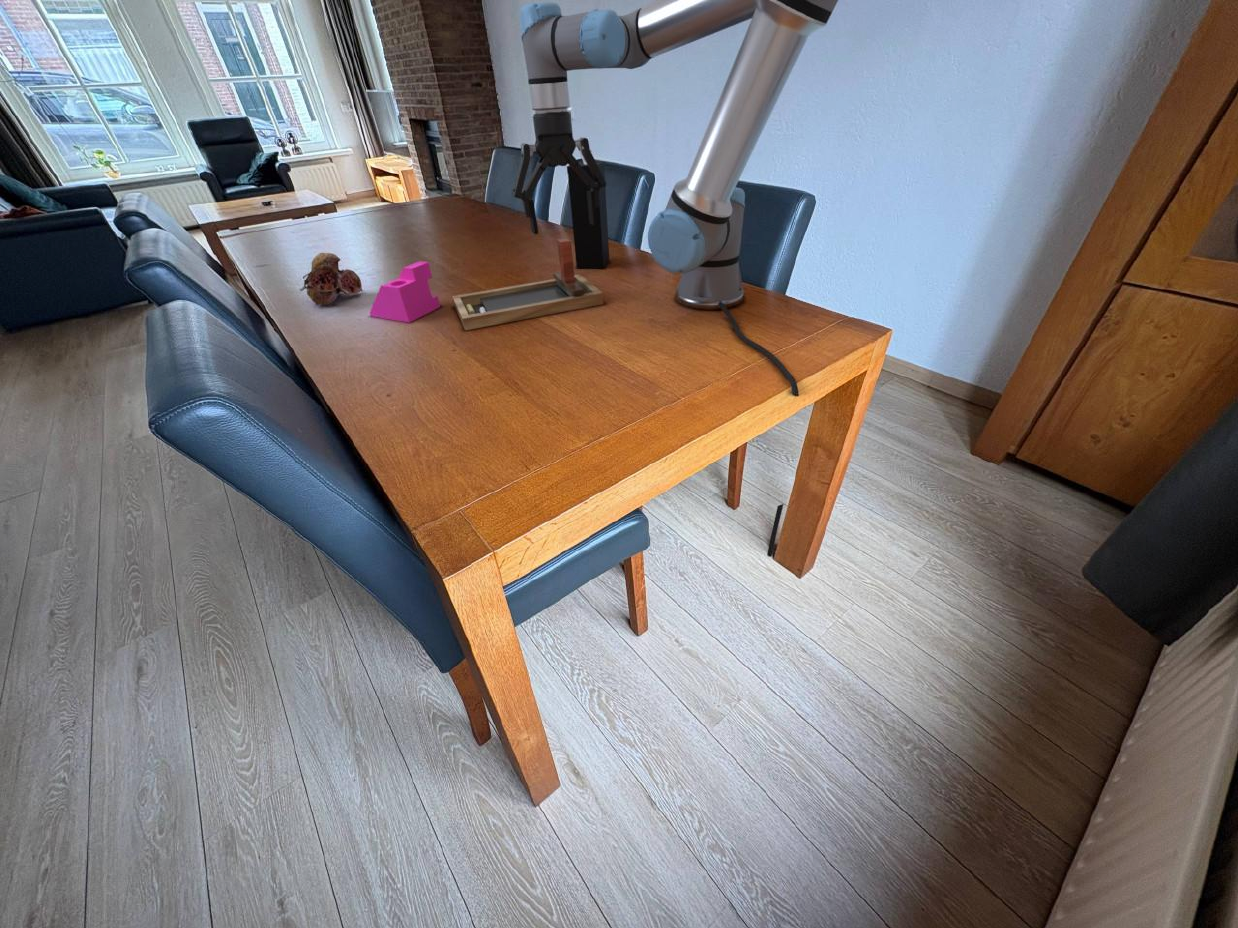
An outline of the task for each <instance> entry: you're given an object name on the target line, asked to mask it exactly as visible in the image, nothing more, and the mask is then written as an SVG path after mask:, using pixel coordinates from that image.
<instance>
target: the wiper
mask: <svg viewBox="0 0 1238 928" xmlns="http://www.w3.org/2000/svg"><path fill="white" fill-rule="evenodd" d="M556 244H557V251H558V259H559V260H558V261H559V269H560V271H558V272H553V279H556V282H557V285H558V286H560V287H561V288H562V289H563V290H564V291H565V292H566V293H567V294H568V295H569V296H570V297H571V296H577V295H582V294H585V290H584V288H583V287H582V286H580V285H579V284H578V283H577V282H576V281H575V277H574V276H575V268H574V267H575V266H574V258H573V257H574V256H573V247H572V240H570V239H569V238H568V237H564V238H558V239H556Z"/></svg>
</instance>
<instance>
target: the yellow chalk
mask: <svg viewBox="0 0 1238 928" xmlns="http://www.w3.org/2000/svg"><path fill="white" fill-rule="evenodd" d="M466 308H467V310H468V312H469V314H470V315H472V314H475V312H474V310H473V308H472V306H471V305H470V304H467V305H466Z"/></svg>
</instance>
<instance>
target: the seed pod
mask: <svg viewBox="0 0 1238 928" xmlns="http://www.w3.org/2000/svg"><path fill="white" fill-rule="evenodd" d="M341 260H342V259H341V258H340V257H339V256H338V255H337V254H334V253H331V252H319V253H318V254H317V255H315V256H314V258H313V259H312V261H311V270H310V272H308V273H306V274H305V275H303V276H302V279H303V282H304V283H303V287H301V288H299V291H301V292H303V291H304V290H306V296H308V297H309V299H311V301H312V302H313V303H315V305H316V306H319V305H320V306H327V305H331V304H332V303H334V302H335V300H336V299H337V297H338V296H339V294H340V293H344V294H345V295H350V296H356V295H358V294H359V293H360V292H364V289H363V288H362V287H363V285H362V281H361V278H360V276H359V275H358V274H357V273H356V271H354V270H352V269H349V268H347V269H346V268H345V269H340V268H339V267H340V265H339V262H340V261H341Z"/></svg>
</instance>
